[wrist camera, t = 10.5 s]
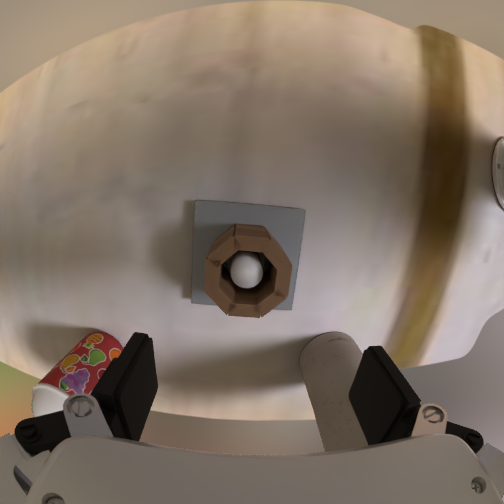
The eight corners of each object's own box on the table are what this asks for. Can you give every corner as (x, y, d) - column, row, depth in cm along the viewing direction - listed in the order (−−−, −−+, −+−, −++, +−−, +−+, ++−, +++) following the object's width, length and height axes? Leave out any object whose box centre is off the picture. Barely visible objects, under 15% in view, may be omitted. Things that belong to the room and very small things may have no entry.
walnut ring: (284, 227, 28) (296, 240, 22) (276, 292, 29) (284, 319, 23) (214, 221, 27) (207, 232, 21) (210, 287, 29) (203, 313, 23)
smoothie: (80, 356, 33) (14, 448, 13) (85, 312, 31) (-4, 408, 11) (129, 380, 34) (80, 489, 14) (139, 339, 32) (74, 461, 13)
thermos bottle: (365, 337, 33) (478, 508, 6) (340, 381, 35) (411, 549, 8) (313, 325, 32) (409, 547, 5) (290, 374, 34) (336, 575, 7)
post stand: (302, 208, 29) (317, 215, 23) (289, 304, 31) (299, 330, 26) (197, 199, 28) (186, 204, 22) (193, 297, 31) (183, 323, 25)
